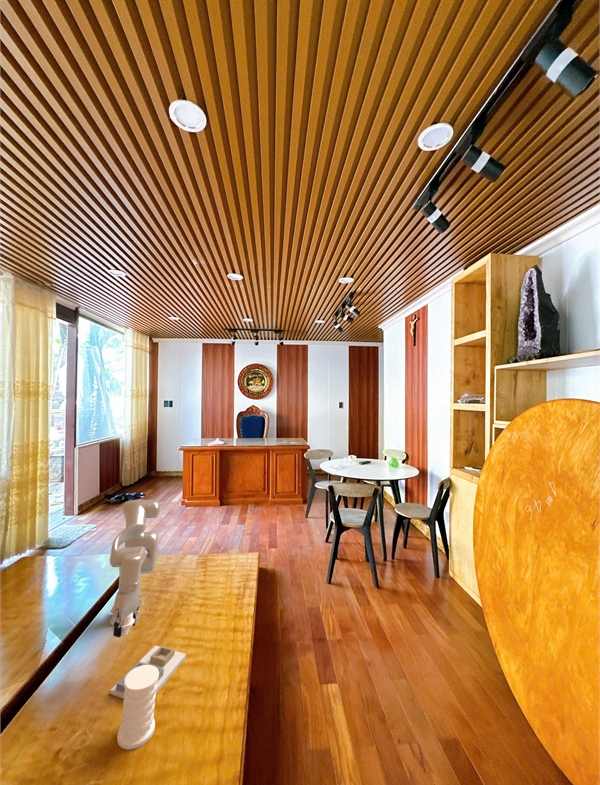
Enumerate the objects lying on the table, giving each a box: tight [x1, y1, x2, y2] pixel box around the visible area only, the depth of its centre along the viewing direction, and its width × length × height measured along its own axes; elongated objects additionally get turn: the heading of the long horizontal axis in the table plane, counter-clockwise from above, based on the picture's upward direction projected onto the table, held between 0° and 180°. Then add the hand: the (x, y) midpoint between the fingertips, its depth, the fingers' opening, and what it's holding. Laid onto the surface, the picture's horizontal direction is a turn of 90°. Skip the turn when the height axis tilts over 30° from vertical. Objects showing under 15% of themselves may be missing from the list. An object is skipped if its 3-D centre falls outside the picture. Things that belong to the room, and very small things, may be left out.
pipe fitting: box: [117, 613, 136, 637], centre depth 136 cm, size 6×7×8 cm
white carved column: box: [116, 665, 159, 750], centre depth 113 cm, size 12×12×18 cm
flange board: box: [109, 645, 187, 700], centre depth 137 cm, size 16×26×4 cm, turn 166°
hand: (124, 630), depth 136 cm, fingers closed on pipe fitting, 7 cm apart
